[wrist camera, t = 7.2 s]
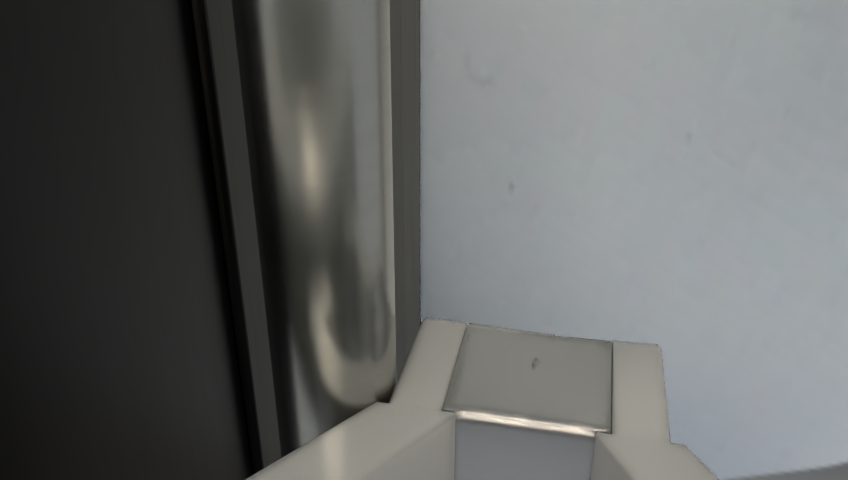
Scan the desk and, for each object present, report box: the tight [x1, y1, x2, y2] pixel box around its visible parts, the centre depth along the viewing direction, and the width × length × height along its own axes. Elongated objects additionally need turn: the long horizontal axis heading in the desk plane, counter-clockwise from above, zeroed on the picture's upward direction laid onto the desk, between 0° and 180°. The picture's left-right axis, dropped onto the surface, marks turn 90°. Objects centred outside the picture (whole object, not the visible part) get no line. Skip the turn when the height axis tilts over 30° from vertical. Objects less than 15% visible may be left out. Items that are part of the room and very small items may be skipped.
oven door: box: [0, 0, 420, 480], centre depth 14 cm, size 5×24×18 cm, turn 0°
